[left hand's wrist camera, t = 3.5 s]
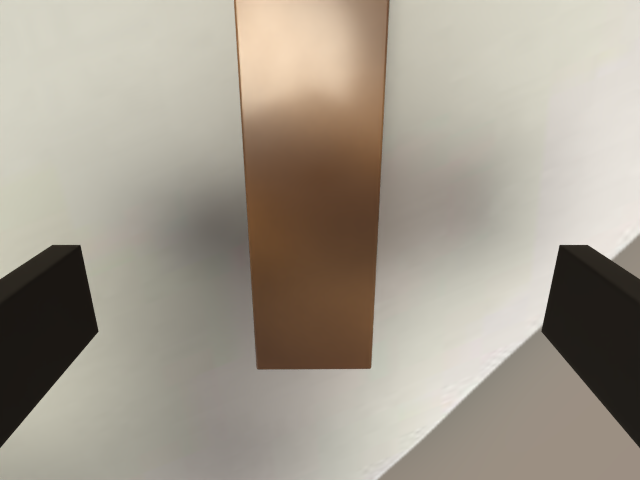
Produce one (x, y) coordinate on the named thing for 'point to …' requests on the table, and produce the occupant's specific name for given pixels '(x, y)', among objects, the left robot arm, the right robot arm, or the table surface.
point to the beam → (312, 175)
